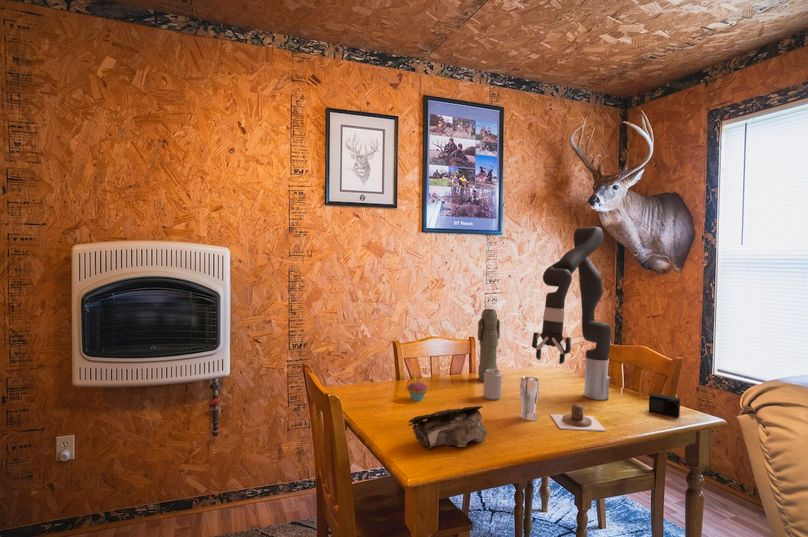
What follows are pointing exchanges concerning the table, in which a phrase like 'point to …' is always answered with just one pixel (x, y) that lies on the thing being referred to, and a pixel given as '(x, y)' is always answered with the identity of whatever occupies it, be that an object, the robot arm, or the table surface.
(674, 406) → the digital camera
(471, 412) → the hollow geode rock
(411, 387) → the cupcake
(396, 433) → the table surface
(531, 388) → the beer glass
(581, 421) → the walnut lid
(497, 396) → the can
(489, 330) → the green statue
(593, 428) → the white mat
